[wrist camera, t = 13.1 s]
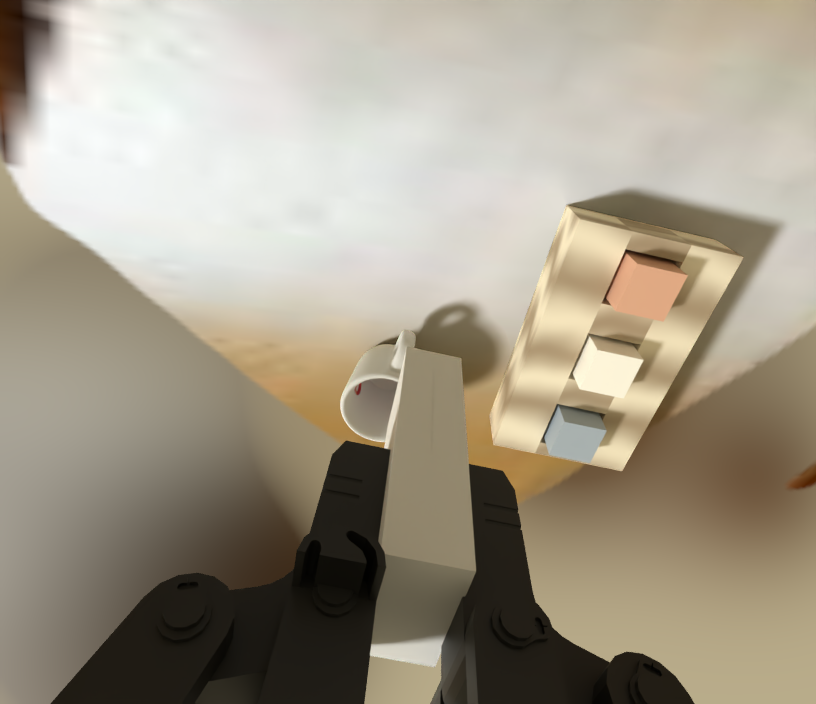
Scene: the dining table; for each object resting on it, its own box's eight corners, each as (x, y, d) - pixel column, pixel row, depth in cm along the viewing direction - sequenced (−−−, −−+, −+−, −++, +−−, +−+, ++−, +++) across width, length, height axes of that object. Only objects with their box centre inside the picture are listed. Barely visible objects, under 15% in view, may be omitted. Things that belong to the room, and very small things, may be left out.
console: (566, 204, 44) (580, 219, 40) (714, 239, 45) (743, 257, 41) (489, 415, 56) (493, 444, 52) (607, 440, 57) (621, 471, 52)
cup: (375, 299, 50) (365, 336, 43) (448, 327, 51) (449, 367, 44) (343, 382, 55) (329, 427, 48) (410, 406, 56) (405, 453, 49)
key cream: (583, 325, 47) (597, 350, 43) (625, 334, 48) (643, 360, 43) (567, 362, 49) (579, 389, 45) (608, 371, 50) (623, 398, 45)
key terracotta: (618, 245, 43) (637, 263, 39) (664, 256, 44) (687, 275, 39) (599, 289, 45) (615, 311, 41) (643, 299, 46) (663, 321, 42)
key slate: (554, 393, 51) (564, 421, 47) (593, 401, 51) (606, 430, 47) (540, 424, 53) (549, 454, 49) (578, 432, 54) (589, 463, 49)
